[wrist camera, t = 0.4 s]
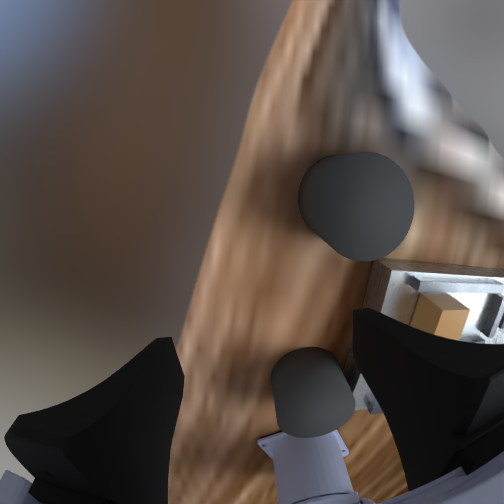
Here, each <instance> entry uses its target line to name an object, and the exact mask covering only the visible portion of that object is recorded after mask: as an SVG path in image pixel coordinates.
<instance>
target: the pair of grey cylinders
mask: <svg viewBox="0 0 504 504" xmlns="http://www.w3.org/2000/svg"><path fill="white" fill-rule="evenodd" d="M298 203H299V209H300V212H301V215H302V217H303V219H304V221H305V222H306V224H307V225H308V226H309V227H310V229H311V230H313V231H314V232H315V233H316V234H317V235H318V236H319V237H321V238H322V239H323V240H324V241H325V242H326V243H327V244H329V245H330V246H331V247H332V248H333V249H334V250H335V251H336V252H338V253H339V254H341V255H342V256H344V257H346V258H348V259H352V260H355V261H373V260H376V259H380V258H382V257H384V256H386V255H388V254H389V253H391V252H392V251H393V250H395V249H396V248H397V247H398V246H399V245H400V243H401V242H402V241H403V240H404V238H405V236H406V235H407V233H408V231H409V229H410V226H411V223H412V219H413V214H414V196H413V191H412V188H411V185H410V182H409V180H408V178H407V176H406V175H405V173H404V172H403V170H402V169H401V168H400V167H399V166H398V165H397V164H396V163H395V162H394V161H392V160H391V159H389V158H387V157H385V156H383V155H381V154H377V153H372V152H360V153H351V154H343V155H335V156H329V157H326V158H323V159H321V160H319V161H318V162H316V163H315V164H313V165H312V166H311V167H310V168H309V170H308V171H307V172H306V174H305V175H304V177H303V179H302V181H301V184H300V187H299V193H298ZM271 382H272V389H273V396H274V403H275V410H276V417H277V423H278V426H279V428H280V429H281V430H282V431H283V432H284V433H286V434H288V435H290V436H293V437H297V438H314V437H319V436H323V435H326V434H328V433H331V432H333V431H335V430H337V429H338V428H340V427H341V426H342V425H344V424H345V423H346V422H347V421H348V420H349V419H350V417H351V416H352V414H353V413H354V410H355V406H356V402H355V398H354V396H353V394H352V392H351V390H350V387H349V385H348V383H347V381H346V379H345V377H344V374H343V372H342V370H341V368H340V366H339V364H338V362H337V360H336V358H335V356H334V355H333V354H332V353H330V352H329V351H327V350H325V349H322V348H317V347H307V348H301V349H297V350H295V351H292V352H290V353H288V354H287V355H285V356H284V357H282V358H281V359H280V360H279V361H278V362H277V363H276V365H275V366H274V368H273V370H272V374H271Z"/></svg>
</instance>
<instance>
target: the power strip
mask: <svg viewBox="0 0 504 504" xmlns="http://www.w3.org/2000/svg"><path fill="white" fill-rule="evenodd" d="M420 293H448V294H450V295H451V296H452V297H454V298H455V299H457V300H458V301H459V302H461V303H462V304H464V305H465V306H466V307H468V308H469V309H470V313H469V315H468V318H467V321H466V323H465V326H464V329H463V331H462V334H461V336H460V339H459V341H465V342H471V343H482V344H504V270H501V269H491V268H481V267H471V266H461V265H450V264H440V263H430V262H419V261H408V260H398V259H387V258H380V259H376V260H373V264H372V268H371V273H370V277H369V282H368V286H367V290H366V294H365V298H364V302H363V306H362V309H363V308H367V307H368V308H371V309H373V310H376V311H378V312H380V313H382V314H384V315H387V316H389V317H391V318H393V319H395V320H398V321H400V322H402V323H404V324H407V325H409V326H410V324H411V321H412V318H413V315H414V312H415V309H416V306H417V302H418V299H419V296H420ZM352 349H353V342H352V345H351V349H350V352H349V355H348V358H347V361H346V364H345V367H344V370H343V374H344V377H345V379H346V381H347V383H348V385H349V387H350V390H351V392H352V394H353V396H354V398H355V402H356V406H355V410H363V409H368V410H369V413H370V414H376V413H383V411H382V409H381V407H380V406H379V404H378V402H377V400H376V399H375V397H374V395H373V393H372V392H371V390H370V388H369V386H368V385H367V383H366V381H365V379H364V378H363V376H362V374H361V372H360V370H359V368H358V365H357V363H356V360H355V358H354V355H353V352H352Z"/></svg>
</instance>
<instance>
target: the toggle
mask: <svg viewBox="0 0 504 504" xmlns="http://www.w3.org/2000/svg"><path fill="white" fill-rule="evenodd" d="M469 313H470V309H469V308H468V307H466V306H465V305H464V304H462V303H461V302H459V301H458V300H457V299H455V298H454V297H452V296H451V295H450V294H448V293H420V296H419V299H418V302H417V306H416V309H415V312H414V315H413V318H412V321H411V324H410V326H412V327H414V328H417V329H419V330H422V331H425V332H428V333H431V334H434V335H437V336H441V337H445V338H449V339H453V340H459V339H460V336H461V334H462V331H463V329H464V326H465V323H466V321H467V318H468V315H469Z"/></svg>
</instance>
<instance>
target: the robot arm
mask: <svg viewBox="0 0 504 504" xmlns="http://www.w3.org/2000/svg"><path fill="white" fill-rule="evenodd" d="M352 352H353V355H354V358H355V360H356V363H357V365H358V368H359V370H360V372H361V374H362V376H363V378H364V379H365V381H366V383H367V385H368V386H369V388H370V390H371V392H372V393H373V395H374V397H375V399H376V400H377V402H378V404H379V406H380V407H381V409H382V411H383V413H384V415H385V417H386V419H387V422H388V424H389V427H390V430H391V432H392V435H393V437H394V440H395V443H396V446H397V449H398V452H399V455H400V458H401V462H402V465H403V469H404V472H405V476H406V481H407V485H408V489H409V492H407V493H405V494H402V495H400V496H397V497H394V498H392V499H389V500H386V501H383V502H380V503H378V504H504V344H482V343H471V342H465V341H459V340H453V339H449V338H445V337H441V336H437V335H434V334H431V333H428V332H425V331H422V330H419V329H417V328H414V327H412V326H409V325H407V324H404V323H402V322H400V321H398V320H395V319H393V318H391V317H389V316H387V315H384V314H382V313H380V312H378V311H376V310H373V309H371V308H368V307H367V308H363V309H358V310H353V349H352ZM183 388H184V374H183V371H182V368H181V365H180V362H179V359H178V356H177V353H176V350H175V347H174V343H173V340H172V337H165V338H157V339H155V340H154V341H153V342H151V343H150V344H149V345H148V346H146V347H145V348H144V349H143V350H142V351H141V352H140V353H138V354H137V355H136V356H135V357H134V358H133V359H131V360H130V361H129V362H128V363H127V364H125V365H124V366H123V367H122V368H120V369H119V370H118V371H116V372H115V373H114V374H112V375H111V376H110V377H108V378H107V379H106V380H104V381H103V382H101V383H100V384H98V385H97V386H95V387H93V388H91V389H90V390H88V391H86V392H84V393H82V394H80V395H78V396H76V397H74V398H72V399H70V400H68V401H65V402H63V403H61V404H58V405H55V406H52V407H50V408H47V409H43V410H40V411H35V412H31V413H27V414H22V415H19V416H18V417H17V418H16V420H15V421H14V423H13V424H12V426H11V427H10V428H9V430H8V432H7V433H6V434H5V437H4V438H5V442H6V445H7V447H8V448H9V450H10V451H11V453H12V454H13V455H14V456H15V457H16V459H17V460H18V461H19V462H20V463H21V464H22V465H23V466H24V467H25V468H26V469H27V470H28V471H29V472H30V473H31V474H32V475H33V476H34V477H35V479H34V481H33V483H31V482H29V481H28V480H26V479H25V478H23V477H20V476H18V475H16V474H14V473H12V472H10V471H8V470H6V471H5V473H4V474H3V476H2V478H1V480H0V504H168V473H169V460H170V449H171V444H172V438H173V434H174V430H175V426H176V422H177V418H178V414H179V410H180V406H181V402H182V397H183ZM257 444H258V445H259V446H260V447H261V448H262V449H263V450H264V451H265V452H266V453H267V454H268V455H269V456H270V457H271V458H272V459H273V464H274V473H275V482H276V490H277V499H278V504H375V502H374V501H373V500H370V499H368V498H366V497H365V498H362V499H359V496H358V493H357V492H354V491H353V488H352V484H351V481H350V478H349V475H348V472H347V469H346V466H345V463H344V459H343V457H344V456H347V455H348V454H349V451H348V449H347V447H346V445H345V443H344V442H343V440H342V438H341V436H340V434H339V433H338V431H337V430H335V431H333V432H331V433H328V434H326V435H323V436H319V437H314V438H297V437H293V436H290V435H288V434H286V433H284V432H280V433H277V434H274V435H271V436H268V437H265V438H261V439H259V440H258V441H257Z"/></svg>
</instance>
